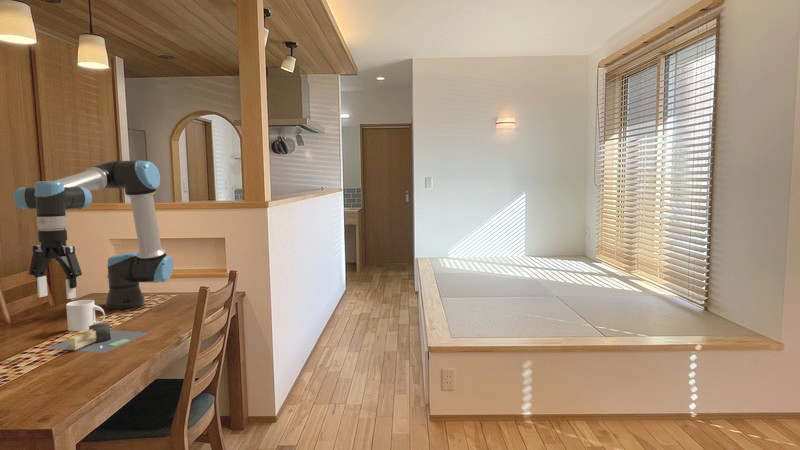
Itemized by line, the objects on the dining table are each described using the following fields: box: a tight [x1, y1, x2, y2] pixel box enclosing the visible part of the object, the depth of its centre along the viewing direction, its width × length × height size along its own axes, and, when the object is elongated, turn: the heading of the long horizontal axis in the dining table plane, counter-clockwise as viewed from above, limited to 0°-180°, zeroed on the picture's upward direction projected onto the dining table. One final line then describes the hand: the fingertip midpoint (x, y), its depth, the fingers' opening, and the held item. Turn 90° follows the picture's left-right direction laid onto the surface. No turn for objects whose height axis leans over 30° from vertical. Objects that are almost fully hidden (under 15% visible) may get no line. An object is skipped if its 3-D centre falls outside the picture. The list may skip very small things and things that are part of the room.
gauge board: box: [47, 329, 149, 354], centre depth 161 cm, size 20×22×1 cm
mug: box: [65, 299, 106, 332], centre depth 175 cm, size 9×12×11 cm
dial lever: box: [67, 322, 111, 351], centre depth 157 cm, size 15×6×5 cm, turn 169°
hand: (57, 297), depth 153 cm, fingers open, 10 cm apart
